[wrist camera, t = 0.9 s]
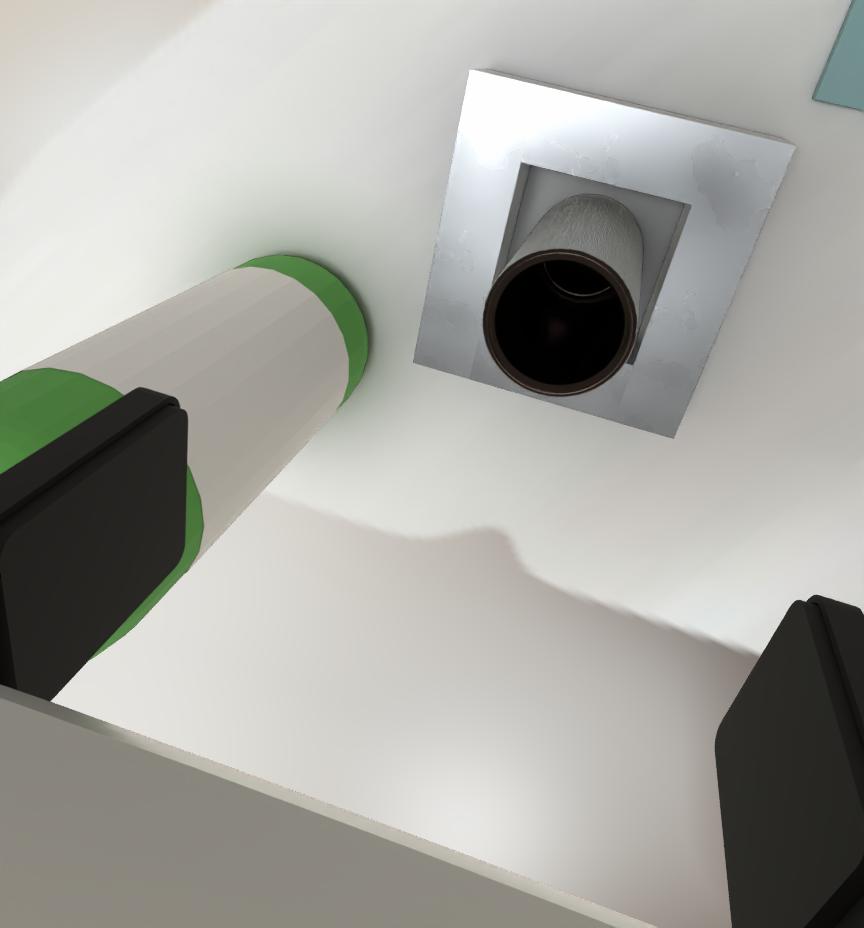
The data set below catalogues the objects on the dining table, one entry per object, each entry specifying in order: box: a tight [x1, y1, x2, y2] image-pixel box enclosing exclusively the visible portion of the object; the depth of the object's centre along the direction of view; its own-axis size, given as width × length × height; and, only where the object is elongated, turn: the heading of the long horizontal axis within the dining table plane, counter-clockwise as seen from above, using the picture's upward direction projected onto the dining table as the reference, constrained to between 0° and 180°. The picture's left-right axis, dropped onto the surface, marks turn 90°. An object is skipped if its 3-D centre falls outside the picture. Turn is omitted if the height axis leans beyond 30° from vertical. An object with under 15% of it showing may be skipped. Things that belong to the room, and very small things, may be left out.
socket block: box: [413, 69, 796, 439], centre depth 29 cm, size 11×11×3 cm
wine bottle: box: [0, 255, 368, 659], centre depth 23 cm, size 8×8×30 cm
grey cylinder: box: [482, 194, 643, 397], centre depth 26 cm, size 4×4×10 cm
